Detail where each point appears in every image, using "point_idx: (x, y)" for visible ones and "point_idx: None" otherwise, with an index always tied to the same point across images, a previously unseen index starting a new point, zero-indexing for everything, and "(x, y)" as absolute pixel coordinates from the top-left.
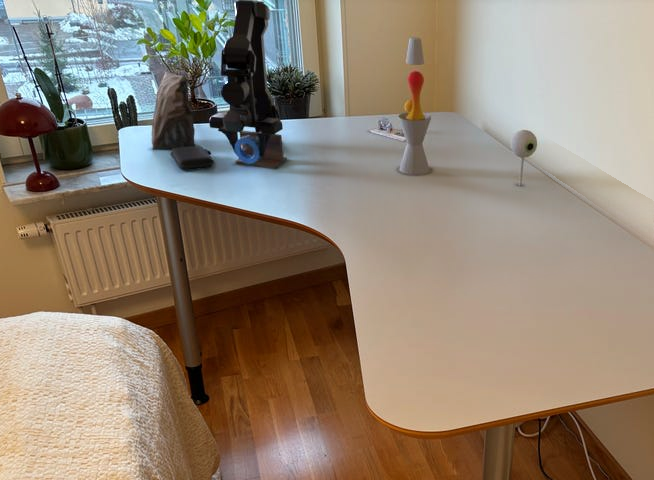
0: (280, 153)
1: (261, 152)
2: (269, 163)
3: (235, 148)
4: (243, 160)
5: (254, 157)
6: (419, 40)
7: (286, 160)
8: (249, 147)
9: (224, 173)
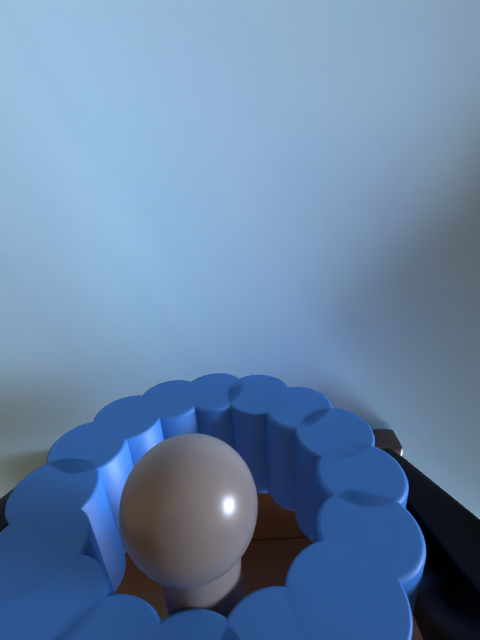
0: None
1: (2, 507)
2: None
3: (395, 487)
4: (267, 388)
5: (118, 428)
6: None
7: None
8: None
9: (397, 195)
